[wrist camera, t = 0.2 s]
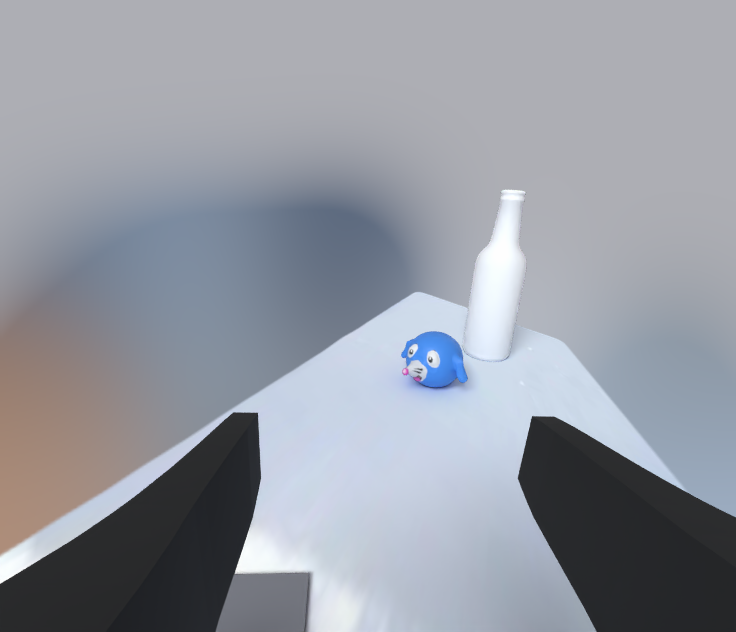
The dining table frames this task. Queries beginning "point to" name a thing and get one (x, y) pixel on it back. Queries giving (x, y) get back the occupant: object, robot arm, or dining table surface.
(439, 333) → the blue rounded blob
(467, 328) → the alcohol
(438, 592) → the dining table surface
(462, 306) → the dining table surface
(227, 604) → the mat
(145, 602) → the robot arm
